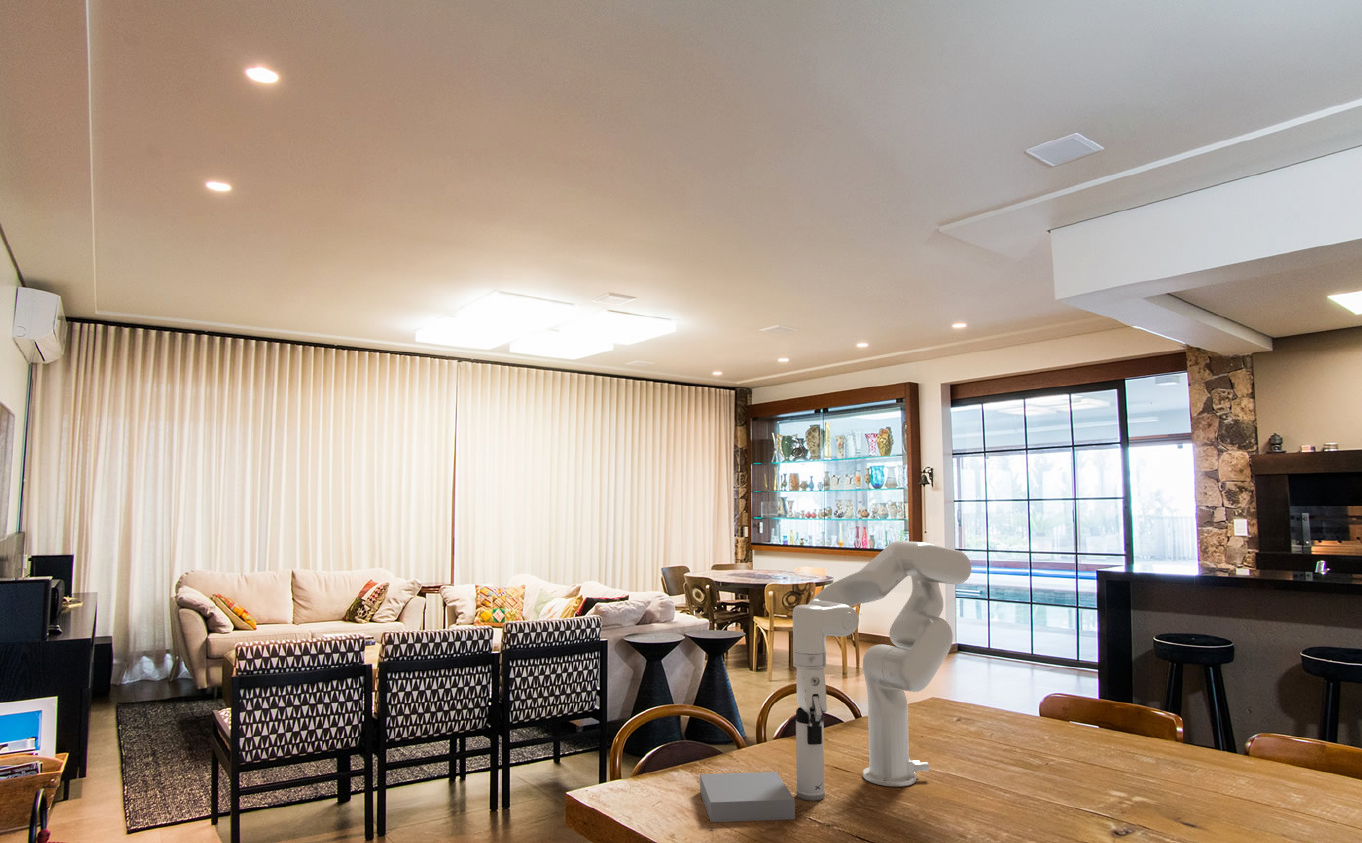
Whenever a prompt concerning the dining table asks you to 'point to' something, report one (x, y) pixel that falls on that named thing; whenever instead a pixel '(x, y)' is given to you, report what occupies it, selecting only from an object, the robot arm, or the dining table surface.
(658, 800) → the dining table surface
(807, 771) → the travel mug
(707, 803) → the plinth
